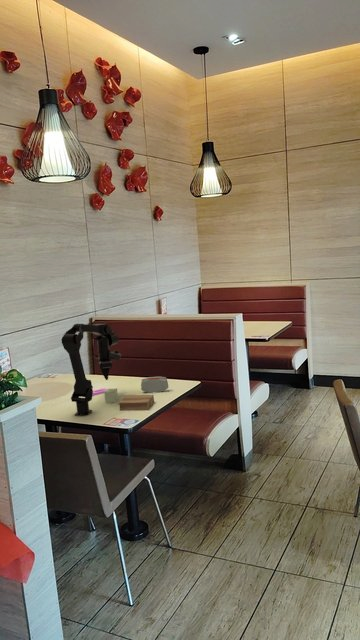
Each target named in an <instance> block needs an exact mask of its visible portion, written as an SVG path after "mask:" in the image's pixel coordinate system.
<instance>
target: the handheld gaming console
mask: <svg viewBox="0 0 360 640" xmlns="http://www.w3.org/2000/svg"><path fill="white" fill-rule="evenodd" d="M168 383H169V382H168V379H167V377H165V376H148V377H145V378H142V379H141V384H140V388H141V389H140V390H141V391H142V392H144V393H149V394H154V393H153V392H157V393H161V392H164V391H166V390H168V388H169V384H168Z"/></svg>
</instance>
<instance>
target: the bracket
mask: <svg viewBox="0 0 360 640" xmlns="http://www.w3.org/2000/svg"><path fill="white" fill-rule="evenodd" d="M107 389H108V388H99V389H94V390H93V394H92V397H94V396H98V395H103V394H104V392H105V391H106V390H107Z"/></svg>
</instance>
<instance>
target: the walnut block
mask: <svg viewBox="0 0 360 640" xmlns="http://www.w3.org/2000/svg"><path fill="white" fill-rule="evenodd" d="M154 397H155V396H154V394H141V395H135V394H134V395H125V396H124V398H122V400H121V401H120V402H118V407H119V411H149V409H150V408H151V407H152V405H153V404H154V403H155V398H154Z"/></svg>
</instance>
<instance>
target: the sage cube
mask: <svg viewBox="0 0 360 640" xmlns="http://www.w3.org/2000/svg"><path fill="white" fill-rule="evenodd" d="M106 389H107V390H106V391H105V392H104V393H103V394H104V400H105V402H104V403H105V404H116V402H118V401H119V396H118V388H106Z"/></svg>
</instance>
